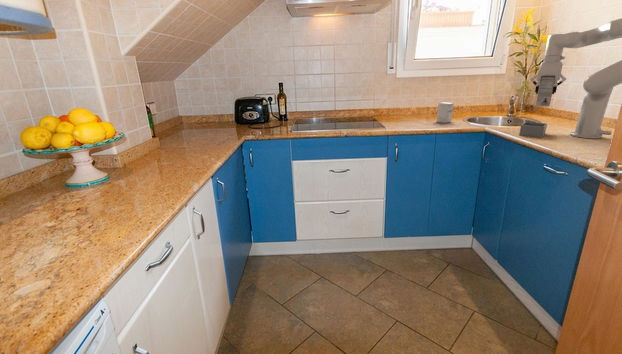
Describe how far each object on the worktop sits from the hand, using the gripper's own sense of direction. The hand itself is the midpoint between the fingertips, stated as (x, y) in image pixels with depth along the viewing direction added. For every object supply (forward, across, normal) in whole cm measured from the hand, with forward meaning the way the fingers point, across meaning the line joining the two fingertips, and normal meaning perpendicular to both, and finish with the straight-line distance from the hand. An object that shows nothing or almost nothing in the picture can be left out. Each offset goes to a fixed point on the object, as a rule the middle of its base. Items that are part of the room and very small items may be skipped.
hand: (544, 93), depth 171 cm
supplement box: (+20, +53, 0) cm, 56 cm away
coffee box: (+7, 0, 0) cm, 7 cm away
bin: (+21, +1, +14) cm, 25 cm away
